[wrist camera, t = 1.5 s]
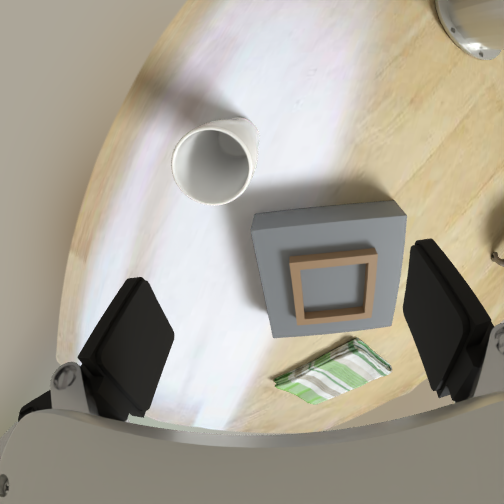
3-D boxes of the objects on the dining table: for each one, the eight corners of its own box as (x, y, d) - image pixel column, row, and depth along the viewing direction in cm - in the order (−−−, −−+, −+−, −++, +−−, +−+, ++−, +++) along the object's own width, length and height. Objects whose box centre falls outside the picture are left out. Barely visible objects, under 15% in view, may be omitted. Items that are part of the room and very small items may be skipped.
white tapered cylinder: (213, 110, 32) (168, 125, 20) (268, 113, 32) (256, 127, 19) (212, 160, 36) (171, 204, 23) (263, 164, 35) (250, 210, 23)
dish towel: (392, 365, 56) (395, 377, 53) (316, 401, 66) (316, 412, 63) (355, 333, 51) (358, 346, 48) (272, 377, 61) (270, 389, 58)
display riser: (254, 214, 39) (249, 236, 34) (394, 200, 36) (411, 220, 30) (274, 316, 50) (272, 344, 44) (384, 305, 46) (393, 332, 40)
